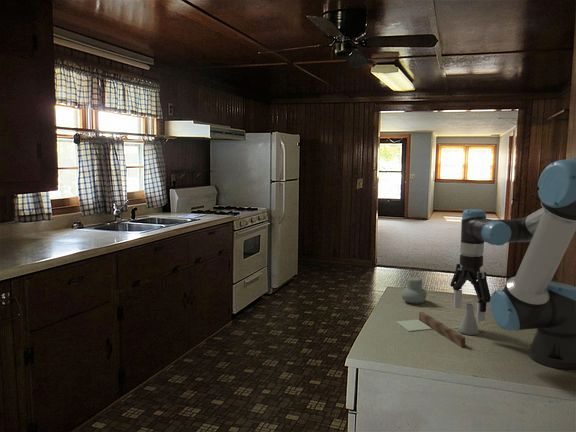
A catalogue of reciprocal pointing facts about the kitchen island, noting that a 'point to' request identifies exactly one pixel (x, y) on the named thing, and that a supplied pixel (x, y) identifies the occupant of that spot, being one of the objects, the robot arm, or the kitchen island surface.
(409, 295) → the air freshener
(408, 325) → the board
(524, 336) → the kitchen island surface
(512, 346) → the kitchen island surface
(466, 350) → the kitchen island surface
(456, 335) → the rail
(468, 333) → the flask
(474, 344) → the kitchen island surface
